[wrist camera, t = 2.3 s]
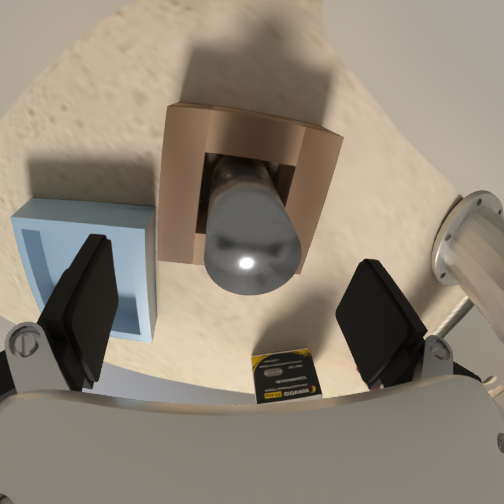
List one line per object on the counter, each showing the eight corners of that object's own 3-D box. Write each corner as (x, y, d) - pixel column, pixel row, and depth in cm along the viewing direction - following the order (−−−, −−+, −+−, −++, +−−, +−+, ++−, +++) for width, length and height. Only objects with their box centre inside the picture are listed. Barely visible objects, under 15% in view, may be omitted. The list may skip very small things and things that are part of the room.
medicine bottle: (309, 346, 32) (334, 435, 22) (304, 375, 36) (323, 451, 26) (250, 354, 31) (262, 448, 21) (254, 382, 35) (264, 461, 25)
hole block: (321, 126, 18) (343, 137, 14) (288, 244, 23) (299, 274, 20) (178, 102, 16) (167, 106, 13) (167, 230, 21) (157, 260, 18)
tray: (155, 207, 20) (144, 229, 17) (157, 316, 26) (152, 343, 24) (32, 198, 18) (10, 216, 15) (56, 299, 24) (44, 322, 21)
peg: (272, 156, 19) (313, 222, 11) (261, 206, 21) (287, 298, 13) (216, 148, 18) (209, 208, 10) (208, 200, 20) (200, 291, 12)
